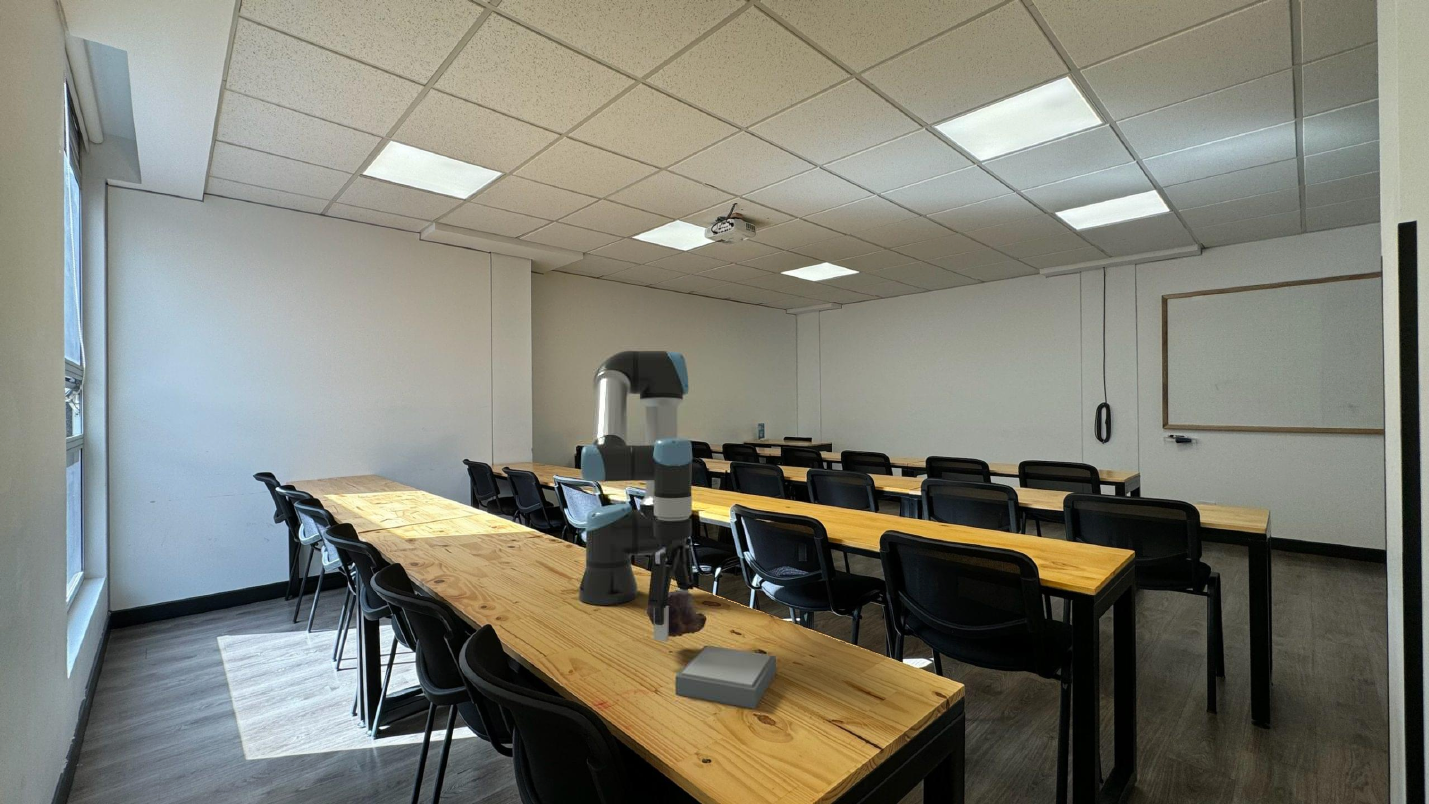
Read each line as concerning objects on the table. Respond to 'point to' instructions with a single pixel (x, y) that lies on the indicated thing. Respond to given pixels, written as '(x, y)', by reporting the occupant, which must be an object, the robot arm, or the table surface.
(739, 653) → the grey flat square block
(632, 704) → the table surface
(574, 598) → the table surface
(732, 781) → the table surface
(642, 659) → the table surface
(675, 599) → the rock
